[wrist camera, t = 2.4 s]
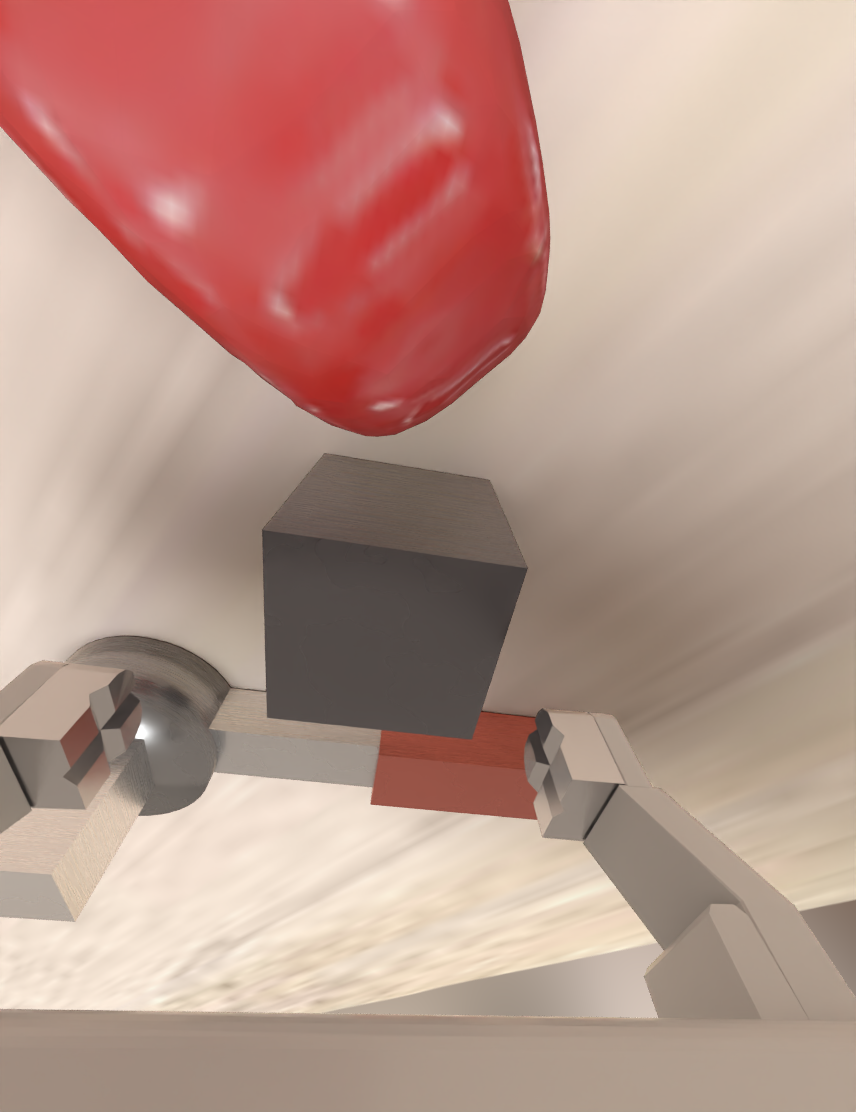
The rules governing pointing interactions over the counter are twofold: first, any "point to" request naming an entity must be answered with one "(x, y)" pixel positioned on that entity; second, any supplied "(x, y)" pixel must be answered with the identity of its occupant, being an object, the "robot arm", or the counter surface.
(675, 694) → the counter surface
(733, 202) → the counter surface
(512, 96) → the mug
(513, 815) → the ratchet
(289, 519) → the matte grey cube
